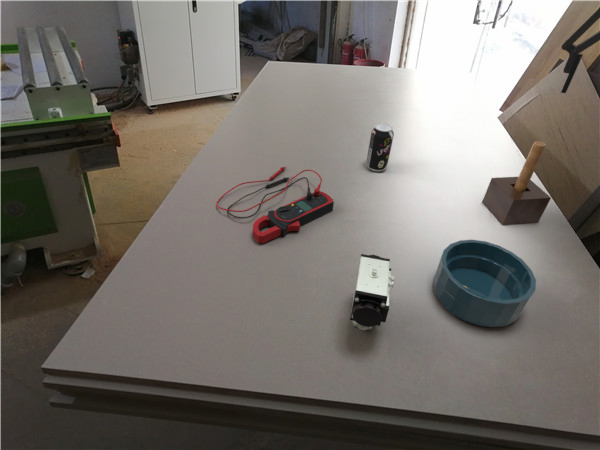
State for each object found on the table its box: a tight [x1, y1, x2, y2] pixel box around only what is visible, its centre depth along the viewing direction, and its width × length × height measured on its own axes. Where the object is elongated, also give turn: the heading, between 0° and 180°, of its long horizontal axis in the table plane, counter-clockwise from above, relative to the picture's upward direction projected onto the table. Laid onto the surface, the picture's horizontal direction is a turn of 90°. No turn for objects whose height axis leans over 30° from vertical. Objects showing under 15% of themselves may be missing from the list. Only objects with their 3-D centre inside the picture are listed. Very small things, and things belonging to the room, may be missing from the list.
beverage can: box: [365, 122, 395, 172], centre depth 107 cm, size 6×6×12 cm
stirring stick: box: [514, 140, 547, 192], centre depth 91 cm, size 2×2×18 cm
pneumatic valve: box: [349, 253, 395, 331], centre depth 65 cm, size 6×12×12 cm, turn 168°
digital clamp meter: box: [215, 164, 334, 244], centre depth 94 cm, size 23×4×25 cm
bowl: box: [432, 239, 537, 328], centre depth 73 cm, size 16×16×7 cm
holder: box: [481, 176, 552, 226], centre depth 95 cm, size 9×9×7 cm
